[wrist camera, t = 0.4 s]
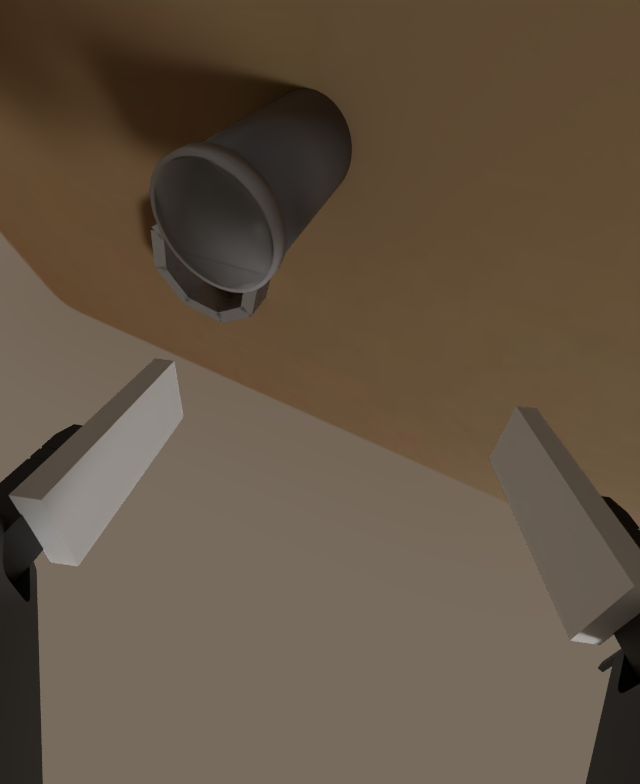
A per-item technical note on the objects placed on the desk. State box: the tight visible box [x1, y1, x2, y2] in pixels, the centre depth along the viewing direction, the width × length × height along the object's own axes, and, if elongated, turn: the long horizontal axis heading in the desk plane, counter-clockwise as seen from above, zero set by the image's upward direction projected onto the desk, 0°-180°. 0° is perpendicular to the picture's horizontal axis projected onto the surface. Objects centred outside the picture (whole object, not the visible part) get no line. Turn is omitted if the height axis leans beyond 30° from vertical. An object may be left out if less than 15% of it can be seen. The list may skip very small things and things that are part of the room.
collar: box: [151, 223, 270, 323], centre depth 31 cm, size 10×10×3 cm
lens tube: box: [150, 88, 352, 293], centre depth 19 cm, size 6×6×12 cm
